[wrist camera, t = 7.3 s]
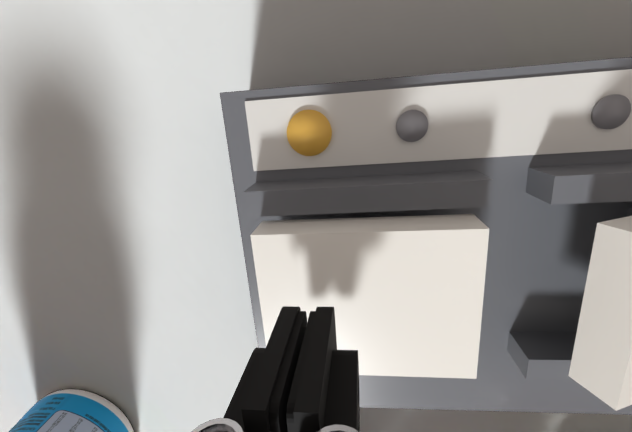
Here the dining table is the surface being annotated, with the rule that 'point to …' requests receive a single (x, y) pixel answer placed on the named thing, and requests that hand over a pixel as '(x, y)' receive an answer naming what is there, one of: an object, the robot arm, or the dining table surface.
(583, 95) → the switch unit
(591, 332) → the block
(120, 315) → the dining table surface
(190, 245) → the dining table surface
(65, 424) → the beverage bottle
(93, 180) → the dining table surface
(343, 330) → the rocker
